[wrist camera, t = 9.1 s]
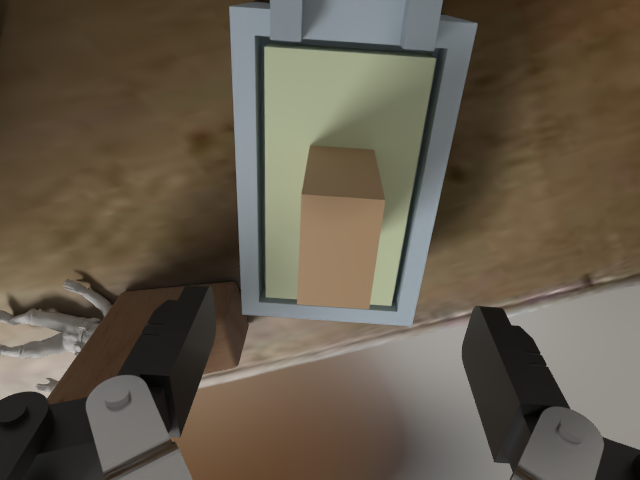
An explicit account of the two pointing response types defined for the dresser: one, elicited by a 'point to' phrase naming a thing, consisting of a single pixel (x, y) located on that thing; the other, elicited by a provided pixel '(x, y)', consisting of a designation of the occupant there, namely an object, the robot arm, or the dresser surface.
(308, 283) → the lid
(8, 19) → the dresser surface
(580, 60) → the dresser surface
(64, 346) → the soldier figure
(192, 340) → the robot arm
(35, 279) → the dresser surface
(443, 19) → the blue-grey open box
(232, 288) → the wooden block
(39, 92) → the dresser surface
